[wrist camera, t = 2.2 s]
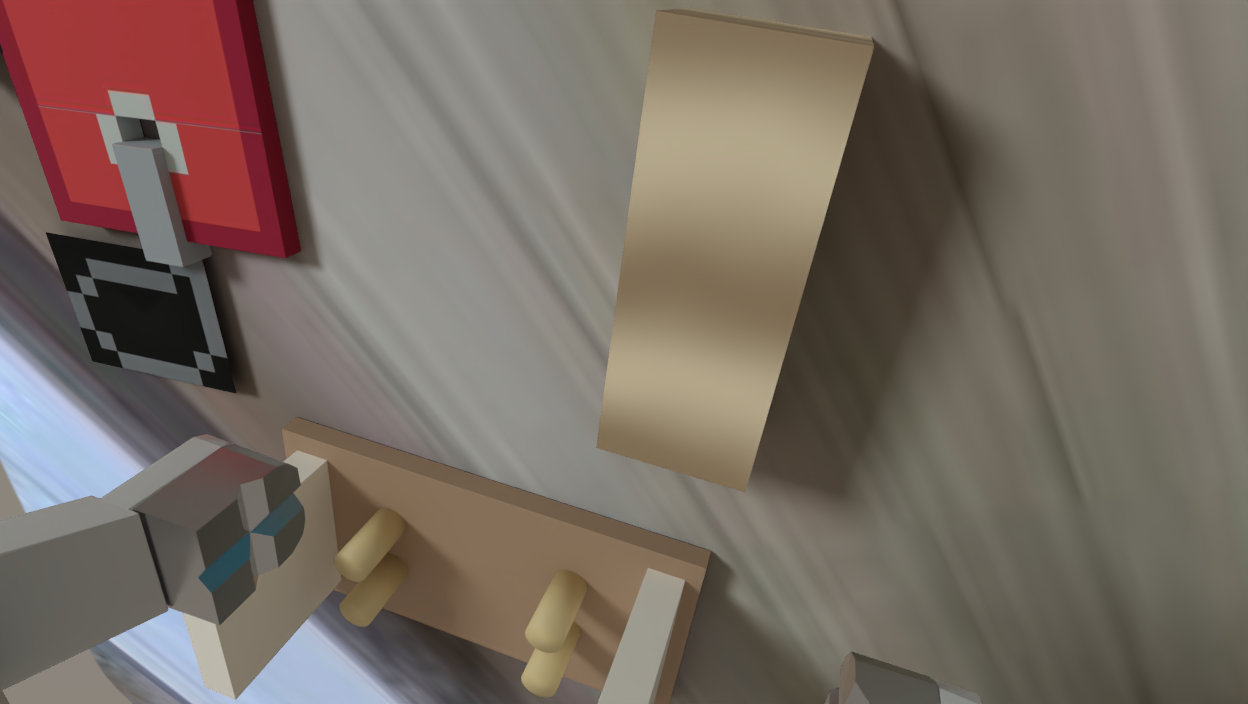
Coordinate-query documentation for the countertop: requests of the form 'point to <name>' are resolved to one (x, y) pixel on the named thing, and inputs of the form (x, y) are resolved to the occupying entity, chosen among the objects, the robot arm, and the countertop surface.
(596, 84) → the countertop surface
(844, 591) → the countertop surface
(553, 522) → the cradle
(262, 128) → the red board with handle
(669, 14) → the tan wooden block
